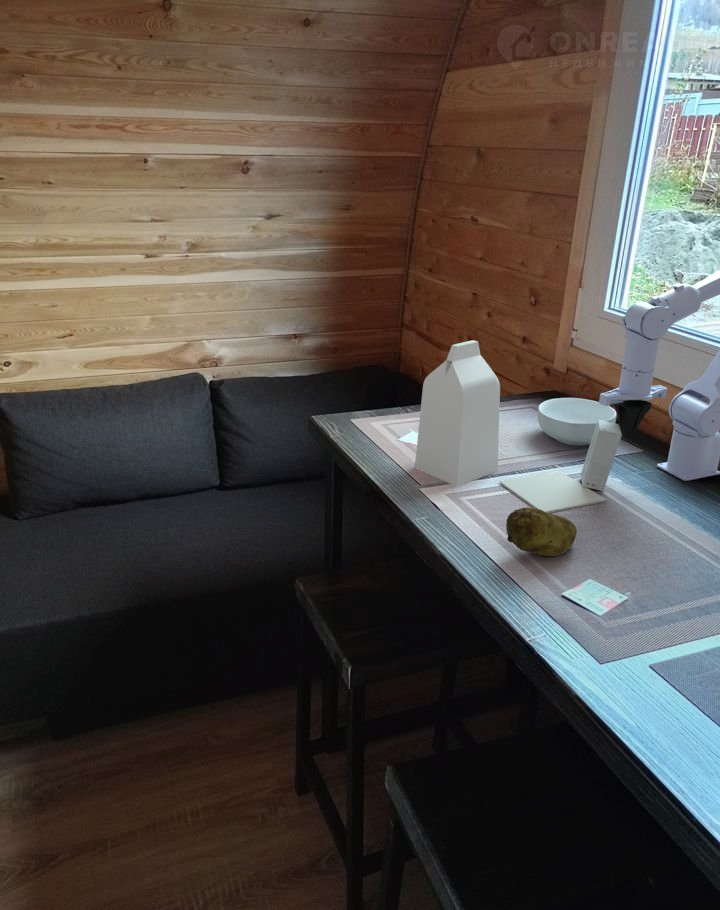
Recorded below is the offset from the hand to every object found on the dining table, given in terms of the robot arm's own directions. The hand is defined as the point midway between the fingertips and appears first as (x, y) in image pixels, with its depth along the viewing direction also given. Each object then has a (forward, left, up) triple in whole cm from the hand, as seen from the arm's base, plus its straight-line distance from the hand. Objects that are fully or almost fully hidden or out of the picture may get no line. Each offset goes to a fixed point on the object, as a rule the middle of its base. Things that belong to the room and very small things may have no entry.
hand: (626, 436), depth 149 cm
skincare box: (+7, 0, -9) cm, 11 cm away
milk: (+28, -16, -9) cm, 34 cm away
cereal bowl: (-5, -21, -9) cm, 24 cm away
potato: (+32, +18, -9) cm, 38 cm away
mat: (+16, 0, -9) cm, 19 cm away
